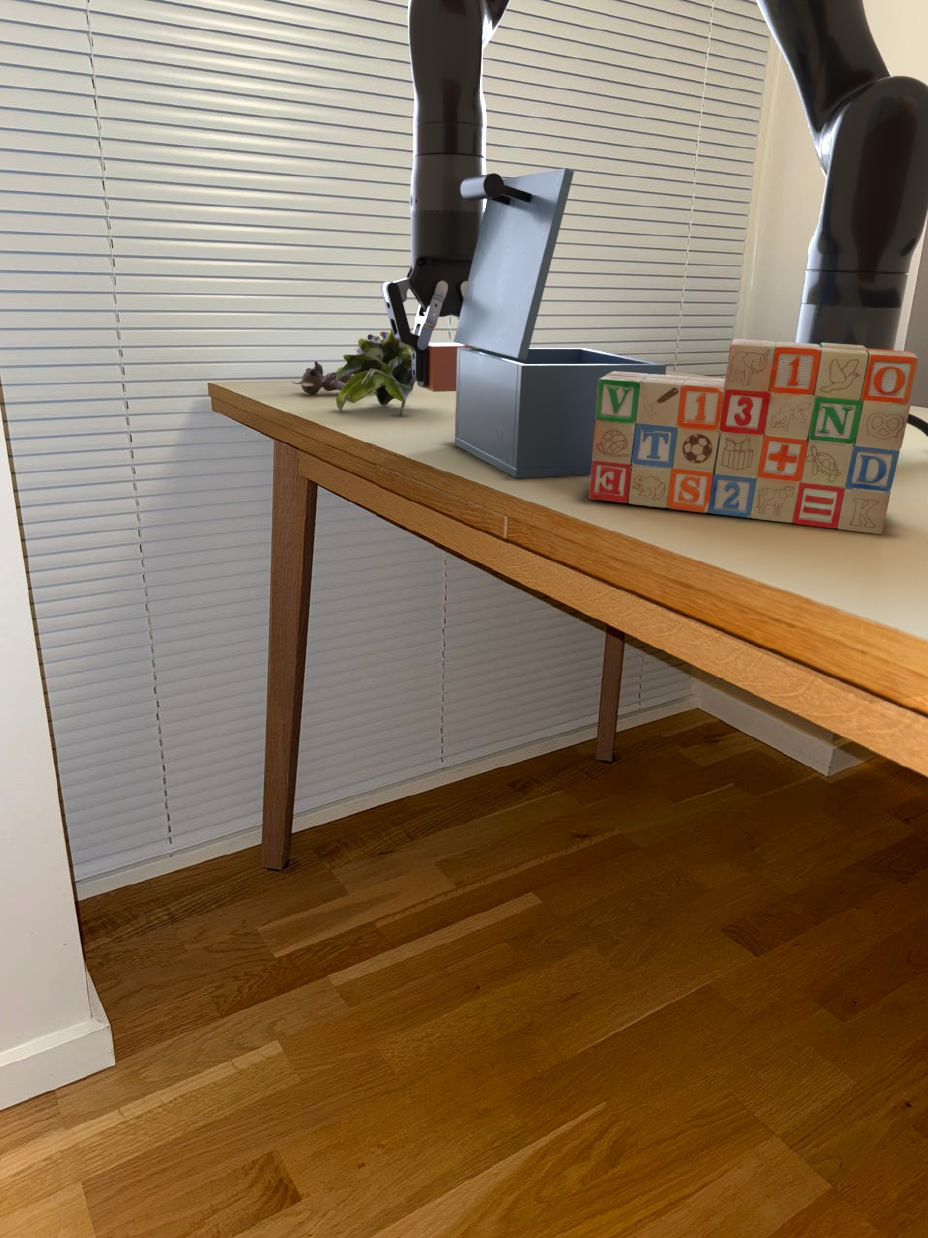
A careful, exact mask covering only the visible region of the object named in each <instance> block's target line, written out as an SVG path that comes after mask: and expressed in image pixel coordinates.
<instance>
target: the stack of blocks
mask: <svg viewBox="0 0 928 1238" xmlns="http://www.w3.org/2000/svg"><path fill="white" fill-rule="evenodd" d="M728 352H729V354H728V361H727V366H726V373H725V378H724V379H721V378H708V377H707V378H706V377H691V376H684V375H672V374H671V375H670V374H665V375H659V374H644V373H632V372H618V371H613V372H611V373H609V374H606V376H604V377H602V378H600V379H599V381H598V391H597V403H596V415H595V419H596V424H595V431H594V441H593V451H592V460H593V461H592V468H591V475H589V477H590V478H589V485H588V488H589V489H588V499H591V500H599V501H606V502H607V501H608V502H614V503H615V502H616V503H625V504H626V503H628V504H631V505H635V506H636V505H638V506H645V507H652V508H654V507H655V508H664V509H665V508H668V509H672V510H680V511H687V512H695V513H704V514H706V513H707V514H708V513H709V514H712V515H713V514H714V515H722V516H731V517H739V518H748V519H750V518H751V519H756V520H763V521H773V522H780V523H788V524H789V523H790V524H791V523H793V524H797V525H804V526H812V527H819V528H825V529H826V528H827V529H838V530H844V531H851V532H857V533H858V532H860V533H866V534H867V533H868V534H876V535H881V534H883V531H884V526H885V522H886V517H887V512H888V508H889V502H890V498H891V491H892V487H893V483H894V478H895V475H896V470H897V465H898V462H899V458H900V453H901V449H902V446H903V443H904V438H905V434H906V428H907V424H908V423H907V420H908V416H909V414H910V411H911V410H910V409H911V403H910V402H909V401H910V398H911V394H912V389H913V385H914V380H915V376H916V371H917V367H918V362H919V357H918V356H917V355H916V354H915V353H912V352H911V351H907V350H895V349H894V350H881V349H868V348H865V347H864V346H862V345H848V344H834V343H820V345H818V344H809V343H794V342H793V341H791V342H787V341H772V340H759V339H758V340H757V339H744V338H743V339H742V338H734V339H733V341H732V342H731V344H730V347H729V351H728Z"/></svg>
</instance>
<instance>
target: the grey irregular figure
mask: <svg viewBox="0 0 928 1238" xmlns="http://www.w3.org/2000/svg"><path fill="white" fill-rule="evenodd" d="M337 374H338V371H337V370H336V371H332V372H330V373H327V374H326V375H324V369H323V366H322V364H320V363H318V362H317V361H314V366H313V368H310V367H308V368H306V369H305V372H304V373H303V375H302V377H301V381H300V380H296V381H291V383H292V384H295V385H300V386H301V389H302V391H303V392H304V393H305V394H307V395H310V396H311V395H312V396H315V395H316V394H318V393H319V391H320V390H321V389H323V390H324V391H327V392H332V391H339V392H340V391H341V389H342V388H343V386H345V384H346V383H347V382H348V381H349V380H350V379H351V378H352V376H354V375H348V376H343V377H342V378H341V379H339V380H338V381H336V376H337Z"/></svg>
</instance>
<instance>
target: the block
mask: <svg viewBox="0 0 928 1238" xmlns="http://www.w3.org/2000/svg"><path fill="white" fill-rule="evenodd" d="M457 348H475V347H471V346H467V345H464V344H460V343H456V342H429V345H428V347H427V350H429V351H430V374H429V387H422V388H423V389H425V390H428V391H430V392H433V393H435V392H436V393H442V392H456V379H457Z"/></svg>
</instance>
